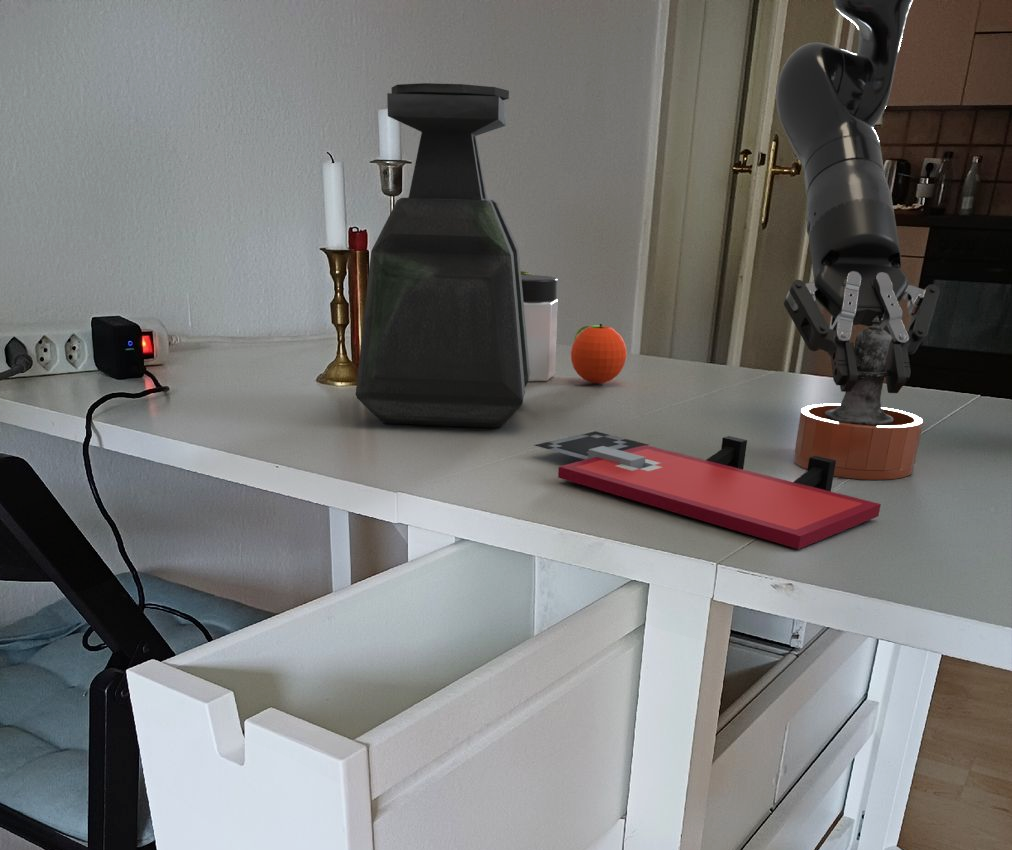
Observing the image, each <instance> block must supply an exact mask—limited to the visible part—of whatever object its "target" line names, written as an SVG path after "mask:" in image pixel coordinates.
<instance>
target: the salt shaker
mask: <svg viewBox="0 0 1012 850" xmlns="http://www.w3.org/2000/svg"><path fill="white" fill-rule="evenodd" d="M872 322H873V325H872V326H870V327H867V328H864V329H862V330H860V331H859V332H858V333H857V334H856V336H855V342H854V351H855V358H856V366H857V373H858V378H857V382H856V383H855V385H854V387H853V388H852V390H851V391H850V392H844V396H843V398H842V401H841V403H840V404H841V405H840V406H838V407H837V408H836V409H833V410H828V411H827V412H825V416H826V417H827V418H828V420H830V421H835V422H841V423H848V424H856V425H868V426H889V424H890V423H892V422H893V417H891V416H889V415H887V414H885V413H884V412H883V410H882V409H881V407H882V402H881V398H882V397H881V396H882V390H883V385H884V380H885V378H886V376H887V375H888V372H887V371H885V365H886V360H887V354H888V349H889V344H890V336H889V334H888V333H887V332H886V331H885V330H883V329H881V327H879V326H878V324H879V322H880V321H879V318H878V316H876V318H874V320H873V321H872Z"/></svg>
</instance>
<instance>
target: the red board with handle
mask: <svg viewBox="0 0 1012 850" xmlns="http://www.w3.org/2000/svg"><path fill="white" fill-rule="evenodd" d="M747 445H748V440H747V439H743V438H741V437H740V438H739V437H735V436H732V435H726V436H723V437H722V440H721V449H719V451H717V452H715V453H713V454H712V455H711V456H709V457H708V458H706V459H702V458H700V457H695V456H690V455H687V454H684V453H680V452H679V453H678V452H674V451H670V450H667V449H663V448H660V447H656V446H651V445H649V443H644V442H640V441H636V440H632V439H628V438H624V437H619V436H616V435H612V434H607V433H604V432H600V431H591V432H586V433H582V434H577V435H573V436H569V437H564V438H559V439H555V440H550V441H546V442H541V443H536V444H533V446H534V447H538V448H541V449H546V450H549V451H552V452H557V453H560V454H563V455H567V456H570V457H574V458H578V459H582V460H580V461H575V462H571V463H568V464H567V463H566V464H563V465H560V466H558V475H557V478H558V479H560V480H564V481H568V482H571V483H574V484H578V485H581V486H585V487H588V488H592V489H594V490H598V491H602V492H605V493H608V494H612V495H614V496H618V497H622V498H626V499H629V500H632V501H635V502H638V503H642V504H645V505H648V506H652V507H655V508H659V509H662V510H666V511H668V512H672V513H674V514H675V513H676V514H678V515H682V516H686V517H689V518H692V519H696V520H698V521H702V522H705V523H709V524H712V525H715V526H718V527H722V528H726V529H729V530H733V531H734V532H735V531H736V532H739V533H743V534H746V535H749V536H752V537H756V538H759V539H763V540H766V541H770V542H774V543H777V544H780V545H783V546H786V547H788V548H789V547H790V548H792V549H797V550H800V549H803V548H805V547H807V546H810V545H812V544H814V543H817V542H819V541H822V540H825V539H826V538H829V537H832V536H834V535H836V534H839V533H841V532H843V531H847V530H848V529H851V528H853V527H856V526H859V525H861V524H863V523H866V522H868V521H870V520H873V519H875V518H877V517H879V516H880V515H879V514H880V511H881V503H878V502H874V501H869V500H866V499H863V498H858V497H854V496H851V495H846V494H842V493H838V492H834V491H832V486H833V481H834V477H835V476H834V470H835V465H836V460H832V459H828V458H823V457H819V456H813V457H810V458H809V463H808V469H806V471H805V472H804V473H803V474H801V475H800V476H799V477H797V478H796V479H795V480H793V481H791V480H786V479H782V478H779V477H775V476H770V475H766V474H762V473H758V472H755V471H750V470H746V469H744V468H745V461H746V460H745V459H746V452H747Z"/></svg>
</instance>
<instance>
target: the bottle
mask: <svg viewBox="0 0 1012 850" xmlns="http://www.w3.org/2000/svg"><path fill="white" fill-rule="evenodd" d="M386 97H387V99H386V100H387V102H386V103H387V104H386V105H387V117H388V118H390V119H393V120H395V121H397V122H400V123H401V124H404V125H406V126H408V127H410V128H412V129H414V130H416V131H418V132H421V134H420V139H419V144H418V148H417V153H416V154H417V155H416V158H415V164H414V167H413V168H414V169H413V174H412V178H411V183H410V188H409V193H408V197H401V198H398V199H397V200H396V201H395V204H394V206H393V208H392V209H391V211H390V214H389V215H388V217H387V219H386V221H385V223H384V225H383V227H382V229H381V231H380V233H379V235H378V237H377V239H376V241H375V243H374V245H373V247H372V248H371V251H370V256H369V257H370V259H369V266H368V267H369V269H368V277H367V285H366V286H367V287H366V295H365V303H364V312H363V322H362V330H361V331H362V332H361V341H360V349H359V358H358V367H357V377H356V386H355V397H356V399H357V400H358V401H359V402H360V403H361V404H362V405H363V406H364V407H365V408H366V409H367V410H369V412H370V413H371V414H373V415H374V416H375V417H376V418H377V419H378V420H379V421H380V422H381V423H383V424H391V425H393V424H394V425H413V426H414V425H417V426H441V427H463V428H489V429H501V428H502V427H503V426H504V425H505V424H506V423H507V422H508V421H509V420H510V418H512V416H513V415H514V414H515V413H516V412H517V411H518V410H519V409H520V408H521V407H522V405H523V402H524V398H525V395H526V387H527V386H528V385H529V384H528V383H529V382H528V380H529V376H530V366H529V355H528V344H527V334H526V323H525V312H524V301H523V291H522V280H521V271H522V269H521V260H520V248H519V247H518V245H517V242H516V240H515V238H514V235H513V233H512V231H511V229H510V227H509V225H508V223H507V221H506V218H505V215H504V214H503V211H502V209H501V207H500V205H499V203H498V201H496V200H494V199H488V195H487V189H486V185H485V179H484V173H483V168H482V162H481V157H480V156H481V155H480V151H479V145H478V141H477V136H480V135H482V134H486V133H489V132H491V131H494V130H497V129H500V128H504V127H506V126H507V104H506V103H505V102H504V101H506V100H509V98H510V91H509V89H504V88H500V87H496V86H488V85H486V86H485V85H475V84H467V83H466V84H465V83H433V82H432V83H431V82H427V83H426V82H422V83H403V84H396V85H394V86H391V92H389V93H387V94H386Z"/></svg>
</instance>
